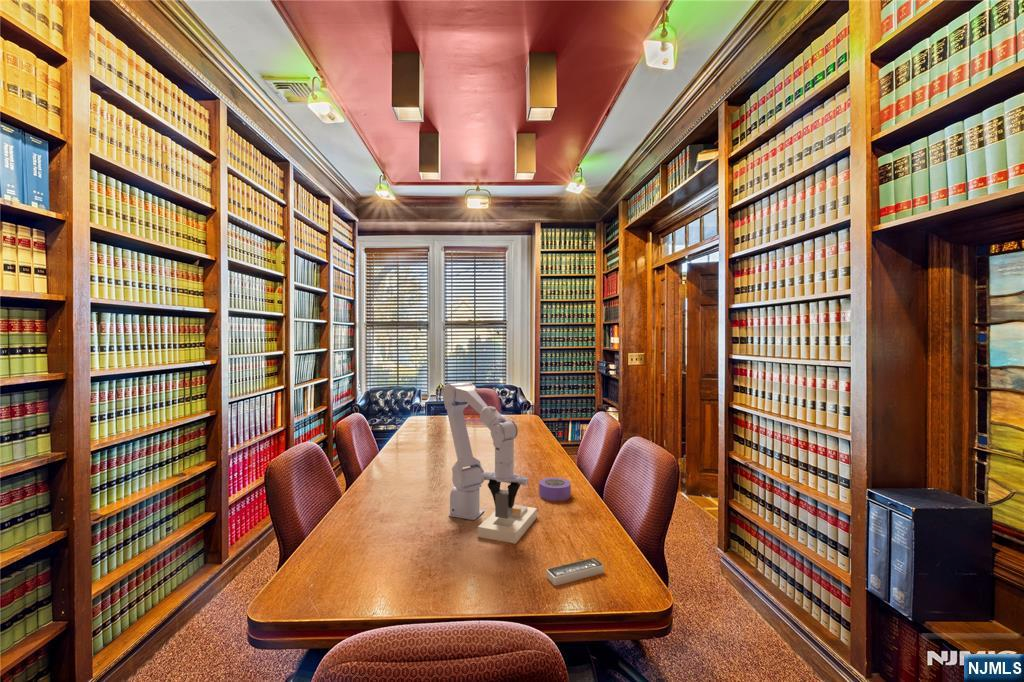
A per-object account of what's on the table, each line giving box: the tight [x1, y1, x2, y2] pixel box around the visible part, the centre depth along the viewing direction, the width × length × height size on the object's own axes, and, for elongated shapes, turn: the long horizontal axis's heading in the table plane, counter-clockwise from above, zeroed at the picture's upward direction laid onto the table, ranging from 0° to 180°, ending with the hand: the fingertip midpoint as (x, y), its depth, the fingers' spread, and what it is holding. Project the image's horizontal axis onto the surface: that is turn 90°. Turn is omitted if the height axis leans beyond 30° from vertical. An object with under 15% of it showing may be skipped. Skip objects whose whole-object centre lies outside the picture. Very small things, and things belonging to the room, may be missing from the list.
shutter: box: [511, 504, 528, 518], centre depth 144 cm, size 7×7×3 cm
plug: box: [494, 488, 513, 519], centre depth 136 cm, size 4×4×7 cm
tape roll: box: [538, 477, 572, 502], centre depth 168 cm, size 12×12×5 cm
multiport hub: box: [545, 557, 605, 586], centre depth 112 cm, size 4×14×2 cm, turn 114°
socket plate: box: [477, 506, 538, 544], centre depth 141 cm, size 12×20×3 cm, turn 159°
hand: (504, 505), depth 137 cm, fingers closed on plug, 4 cm apart
